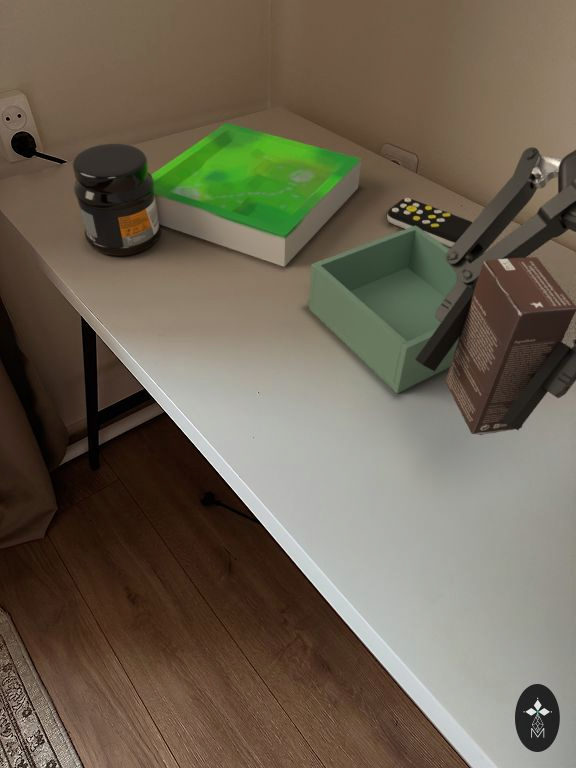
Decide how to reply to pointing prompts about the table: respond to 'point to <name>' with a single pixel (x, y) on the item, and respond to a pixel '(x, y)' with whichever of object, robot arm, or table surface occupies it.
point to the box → (506, 339)
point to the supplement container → (116, 199)
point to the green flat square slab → (254, 191)
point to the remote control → (428, 220)
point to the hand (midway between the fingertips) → (465, 393)
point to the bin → (386, 302)
